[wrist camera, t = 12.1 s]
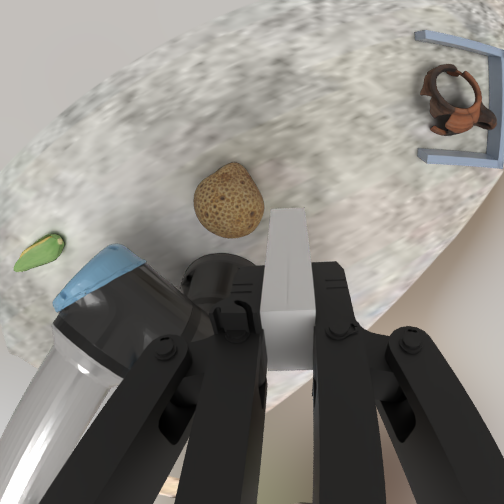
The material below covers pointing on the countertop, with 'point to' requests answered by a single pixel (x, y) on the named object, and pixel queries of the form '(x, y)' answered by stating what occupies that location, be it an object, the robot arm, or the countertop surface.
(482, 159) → the blue-grey u-shaped frame
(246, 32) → the countertop surface
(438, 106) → the brown curved ring piece
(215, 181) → the natural sponge
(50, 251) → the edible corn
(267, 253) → the robot arm
